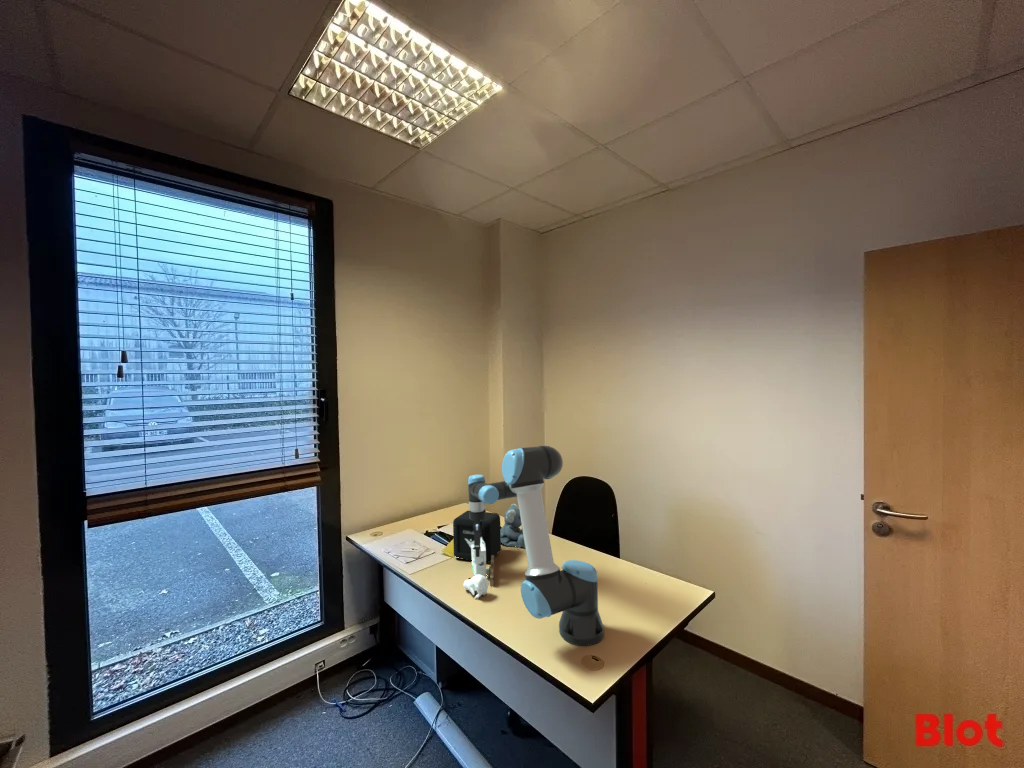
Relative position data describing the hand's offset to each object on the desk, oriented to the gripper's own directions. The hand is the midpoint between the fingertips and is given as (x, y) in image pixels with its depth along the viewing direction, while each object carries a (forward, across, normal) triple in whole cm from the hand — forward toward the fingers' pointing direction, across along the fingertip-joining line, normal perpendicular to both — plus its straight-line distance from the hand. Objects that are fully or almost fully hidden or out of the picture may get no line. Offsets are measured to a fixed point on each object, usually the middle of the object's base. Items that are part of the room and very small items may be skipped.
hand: (478, 557), depth 182 cm
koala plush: (+8, +36, -16) cm, 40 cm away
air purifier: (+8, +19, +2) cm, 20 cm away
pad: (+8, 0, 0) cm, 8 cm away
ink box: (+7, 0, 0) cm, 7 cm away
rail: (+8, 0, -6) cm, 10 cm away
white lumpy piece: (+8, -17, +1) cm, 19 cm away
